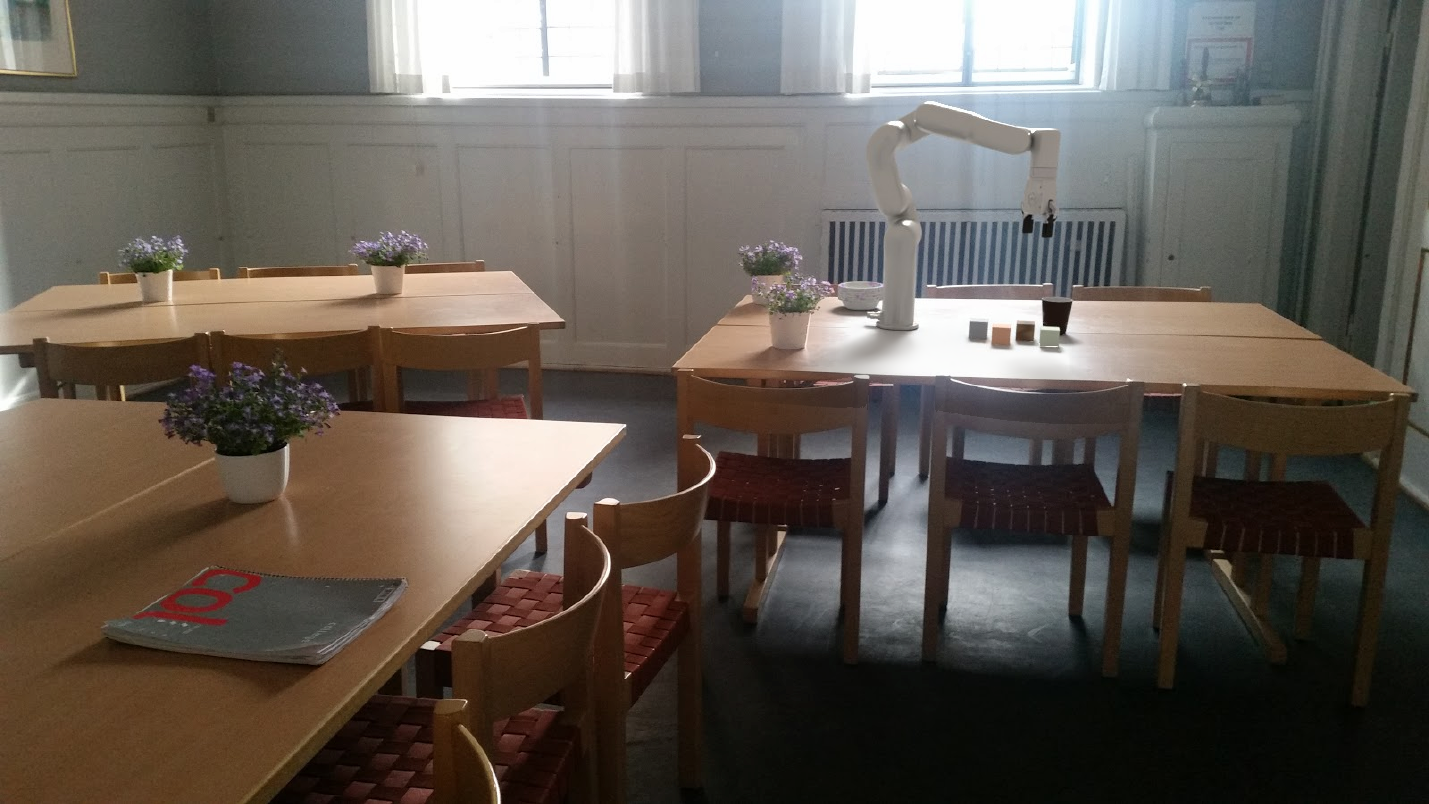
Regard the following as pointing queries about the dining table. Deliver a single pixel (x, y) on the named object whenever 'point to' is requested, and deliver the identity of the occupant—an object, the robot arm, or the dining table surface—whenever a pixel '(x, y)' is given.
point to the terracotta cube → (1001, 334)
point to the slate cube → (978, 328)
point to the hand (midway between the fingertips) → (1036, 235)
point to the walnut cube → (1025, 330)
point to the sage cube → (1049, 336)
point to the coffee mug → (1056, 312)
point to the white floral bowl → (860, 295)
